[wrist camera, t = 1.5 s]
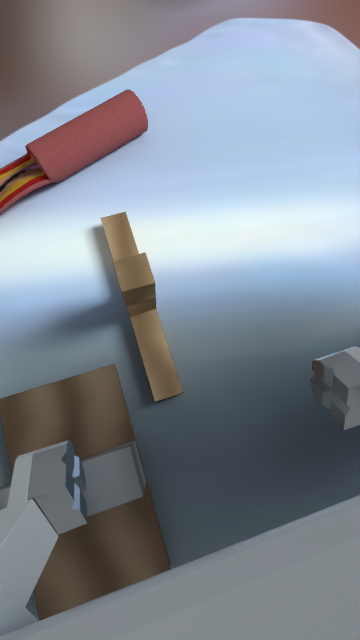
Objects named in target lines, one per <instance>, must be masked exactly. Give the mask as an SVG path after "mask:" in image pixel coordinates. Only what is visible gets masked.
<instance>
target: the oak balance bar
mask: <svg viewBox="0 0 360 640" xmlns="http://www.w3.org/2000/svg"><path fill="white" fill-rule="evenodd" d="M101 221H102V224H103V228H104V231H105V234H106V238H107V241H108V245H109V248H110V251H111V255H112V258H113V264H114V267H115V271H116V274H117V278H118V281H119V284H120V288H121V291H122V294H123V297H124V300H125V303H126V306H127V309H128V313H129V316H130V319H131V322H132V326H133V329H134V332H135V336H136V339H137V342H138V346H139V349H140V353H141V356H142V359H143V363H144V366H145V369H146V373H147V376H148V380H149V383H150V386H151V390H152V393H153V396H154V400H155V402H157V401H160V400H163V399H166V398H169V397H172V396H175V395H178V394H181V393H183V392H182V389H181V385H180V382H179V379H178V376H177V373H176V370H175V367H174V363H173V360H172V357H171V354H170V351H169V348H168V344H167V341H166V338H165V335H164V332H163V329H162V326H161V322H160V319H159V316H158V313H157V310H156V293H155V281H154V278H153V275H152V272H151V269H150V265H149V262H148V259H147V256H146V253H142V254H139V253H138V250H137V247H136V243H135V240H134V237H133V234H132V231H131V228H130V225H129V221H128V218H127V215H126V212H123V213H119V214H115V215H111V216H107V217H103V218H101Z"/></svg>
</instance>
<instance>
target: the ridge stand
mask: <svg viewBox="0 0 360 640" xmlns="http://www.w3.org/2000/svg"><path fill="white" fill-rule="evenodd" d="M0 414H1V419H2V424H3V430H4V435H5V440H6V446H7V451H8V456H9V462H10V467H11V472H12V475H13V470H14V464H15V460H16V459H17V457H18V456H19V455H23V454H26V453H29V452H33V451H35V450H38V449H42V448H45V447H48V446H51V445H55V444H58V443H61V442H65V441H71V443H72V445H73V446H74V455H75V456H77V457H79V458H80V460H81V462H82V465H83V468H84V472H85V477H86V489H85V491H84V493H83V496H84V498H85V499H86V501H87V524H84V525H82V526H79V527H77V528H74V529H71V530H69V531H66V532H64V533H61V534H59V535H58V539H57V541H56V543H55V545H54V547H53V549H52V552H51V554H50V556H49V558H48V560H47V562H46V564H45V567H44V569H43V571H42V573H41V575H40V577H39V579H38V581H37V584H36V586H35V588H34V594H35V600H36V605H37V610H38V616H39V621H41V620H43V619H46V618H48V617H51V616H54V615H56V614H59V613H61V612H64V611H66V610H69V609H71V608H74V607H76V606H79V605H81V604H84V603H86V602H89V601H92V600H94V599H97V598H99V597H102V596H104V595H107V594H109V593H112V592H114V591H117V590H119V589H122V588H125V587H127V586H130V585H132V584H135V583H137V582H140V581H142V580H145V579H147V578H150V577H152V576H155V575H157V574H160V573H163V572H165V571H168V570H170V563H169V559H168V555H167V552H166V548H165V544H164V541H163V537H162V533H161V530H160V526H159V522H158V519H157V515H156V511H155V508H154V504H153V500H152V497H151V493H150V490H149V486H148V482H147V479H146V475H145V471H144V468H143V464H142V460H141V457H140V453H139V449H138V446H137V442H136V438H135V435H134V431H133V427H132V424H131V420H130V416H129V413H128V409H127V406H126V402H125V398H124V395H123V391H122V387H121V384H120V380H119V376H118V373H117V369H116V366H115V365H114V364H113V365H110V366H106V367H103V368H100V369H96V370H93V371H90V372H87V373H83V374H80V375H77V376H73V377H70V378H67V379H64V380H60V381H57V382H54V383H51V384H47V385H44V386H41V387H37V388H34V389H31V390H28V391H24V392H21V393H18V394H14V395H11V396H8V397H5V398H1V399H0ZM10 486H11V483H9V484H7V485H5V486H3V487H1V488H0V510H1V509H4V508H7V502H8V497H9V492H10Z"/></svg>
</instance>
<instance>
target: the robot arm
mask: <svg viewBox="0 0 360 640" xmlns="http://www.w3.org/2000/svg"><path fill="white" fill-rule="evenodd" d="M312 370H313V371H314V372H315V375H314V376H313V378H312V379H311V387H312V390H313V393H314V396H315V397H316V399H317V401H318V402H319V403H320V404H321V405H322V406H324V407H326V408H329V409H330V413H331V417H332V418H333V419H334V420H335V421H336V422H337V423H338V424H339V425H340V427H341V428H342V429H343V430H346V429H349V428H352V427H355V426H358V425H360V348H359V347H356V346H353V347H350V348H348V349H345V350H342V351H339V352H336V353H333V354H330V355H327V356H324V357H321V358H318V359H315V360H314V361H313V363H312ZM85 489H86V477H85V472H84V468H83V465H82V462H81V460H80V458H79V457H77V456H75V455H74V446H73V445H72V443H71V441H65V442H61V443H58V444H55V445H51V446H48V447H45V448H42V449H38V450H35V451H33V452H29V453H26V454H23V455H19V456H18V457H17V459H16V460H15V464H14V470H13V475H12V481H11V486H10V492H9V497H8V502H7V508H4V509H1V510H0V640H360V495H358V496H355V497H353V498H350V499H347V500H345V501H342V502H340V503H337V504H335V505H332V506H330V507H327V508H325V509H322V510H320V511H317V512H314V513H312V514H309V515H307V516H304V517H302V518H299V519H297V520H294V521H292V522H289V523H287V524H284V525H281V526H279V527H276V528H274V529H271V530H269V531H266V532H264V533H261V534H259V535H256V536H254V537H251V538H249V539H246V540H244V541H241V542H239V543H236V544H233V545H231V546H228V547H226V548H223V549H221V550H218V551H216V552H213V553H211V554H208V555H206V556H203V557H201V558H198V559H196V560H193V561H190V562H188V563H185V564H183V565H180V566H178V567H175V568H173V569H170V570H168V571H165V572H163V573H160V574H157V575H155V576H152V577H150V578H147V579H145V580H142V581H140V582H137V583H135V584H132V585H130V586H127V587H125V588H122V589H119V590H117V591H114V592H112V593H109V594H107V595H104V596H102V597H99V598H97V599H94V600H92V601H89V602H86V603H84V604H81V605H79V606H76V607H74V608H71V609H69V610H66V611H64V612H61V613H59V614H56V615H54V616H51V617H48V618H46V619H43V620H41V621H38V620H37V619H36V618H35V617H34V616H33V615H32V614H31V613H30V612H29V611H28V610H27V609H26V608H25V607H26V605H27V603H28V601H29V598H30V596H31V594H32V592H33V590H34V588H35V586H36V584H37V581H38V579H39V577H40V575H41V573H42V571H43V569H44V567H45V564H46V562H47V560H48V558H49V556H50V554H51V552H52V549H53V547H54V545H55V543H56V541H57V539H58V535H59V534H61V533H64V532H66V531H69V530H71V529H74V528H77V527H79V526H82V525H84V524H87V501H86V499H85V498H84V496H83V493H84V491H85Z"/></svg>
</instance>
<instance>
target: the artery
mask: <svg viewBox="0 0 360 640" xmlns="http://www.w3.org/2000/svg"><path fill="white" fill-rule="evenodd" d="M147 128H148V119H147V115H146V113H145V109H144V106H143V105H142V103H141V101H140V100H139V98H138V97H137V96H136V95H135V93H134V92H133V91H131V90H125V91H124V92H122V93H120V94H118V95H116V96H114V97H113V98H111V99H109V100H107V101H105V102H104V103H102V104H100V105H98V106H96V107H94V108H93V109H91V110H89V111H87V112H85V113H84V114H82V115H80V116H78V117H76V118H74V119H73V120H71V121H69V122H67V123H65V124H64V125H62V126H60V127H58V128H56V129H54V130H53V131H51V132H49V133H47V134H45V135H43V136H42V137H40V138H38V139H36V140H34V141H33V142H31V143H29V144H27V145H26V146H25V147H26V150H27V154H26V155H24V156H23V157H21V158H19V159H17V160H15V161H14V162H12V163H10V164H8V165H6V166H5V167H3V168H1V169H0V214H1V213H2V212H3V211H4V210H6V209H7V208H8V207H9V206H11V205H12V204H13V203H15V202H16V201H17V200H19V199H20V198H22V197H23V196H24V195H26V194H28V193H30V192H31V191H33V190H35V189H37V188H39V187H42V186H44V185H47V184H50V183H53V182H60V181H62V180H64V179H65V178H67V177H69V176H71V175H72V174H74V173H76V172H77V171H79V170H81V169H82V168H84V167H86V166H88V165H89V164H91V163H93V162H94V161H96V160H98V159H99V158H101V157H103V156H105V155H106V154H108V153H110V152H111V151H113V150H115V149H117V148H118V147H120V146H122V145H123V144H125V143H127V142H128V141H130V140H132V139H134V138H135V137H137V136H139V135H140V134H142V133H144V132H145V131H147Z"/></svg>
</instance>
